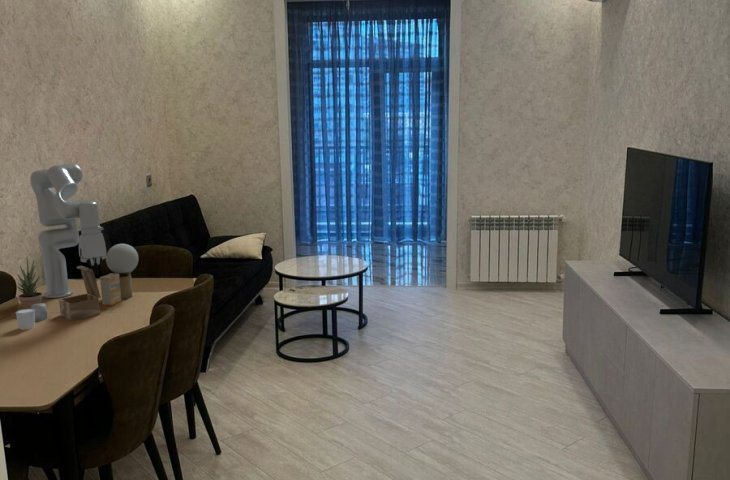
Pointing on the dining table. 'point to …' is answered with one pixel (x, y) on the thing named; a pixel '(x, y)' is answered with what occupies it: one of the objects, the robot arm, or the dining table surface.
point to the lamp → (123, 266)
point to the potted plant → (29, 289)
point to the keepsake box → (79, 306)
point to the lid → (89, 281)
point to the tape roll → (40, 311)
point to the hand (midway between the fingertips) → (95, 273)
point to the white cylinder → (26, 318)
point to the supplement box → (110, 289)
